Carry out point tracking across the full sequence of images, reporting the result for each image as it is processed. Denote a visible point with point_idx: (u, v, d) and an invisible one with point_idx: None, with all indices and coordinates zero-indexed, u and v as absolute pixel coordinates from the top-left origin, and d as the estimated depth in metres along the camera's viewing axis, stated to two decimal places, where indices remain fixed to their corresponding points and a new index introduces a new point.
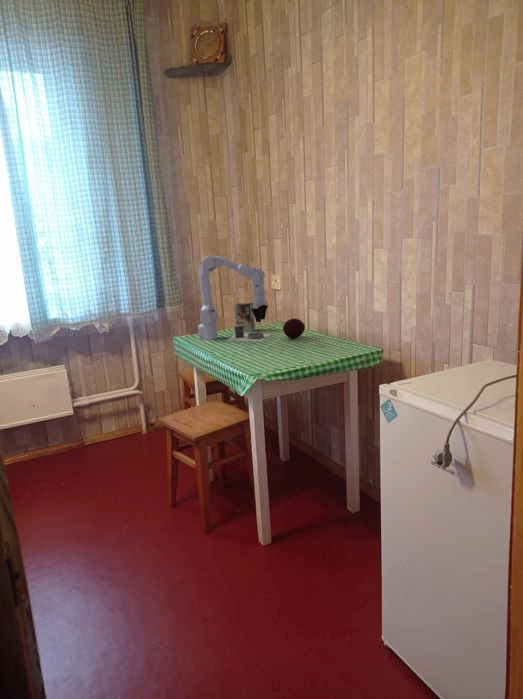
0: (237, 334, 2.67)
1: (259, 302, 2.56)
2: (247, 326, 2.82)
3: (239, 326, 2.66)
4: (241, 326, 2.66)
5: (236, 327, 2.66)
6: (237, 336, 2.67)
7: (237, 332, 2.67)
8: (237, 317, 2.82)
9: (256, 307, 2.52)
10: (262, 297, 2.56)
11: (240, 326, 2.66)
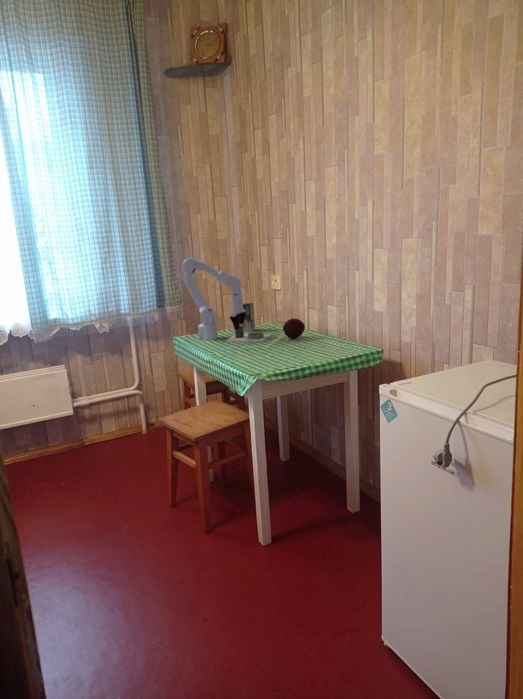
0: (237, 334, 2.67)
1: (237, 310, 2.63)
2: (247, 326, 2.82)
3: (239, 326, 2.66)
4: (241, 326, 2.66)
5: None
6: (237, 336, 2.67)
7: (237, 332, 2.67)
8: None
9: (234, 315, 2.60)
10: (240, 305, 2.63)
11: (240, 326, 2.66)
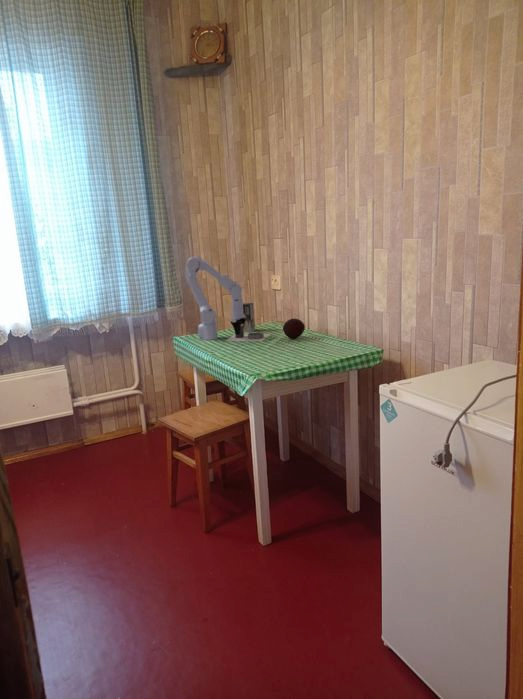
0: None
1: (237, 316, 2.64)
2: (247, 326, 2.82)
3: None
4: (241, 326, 2.66)
5: None
6: (237, 336, 2.67)
7: None
8: None
9: (234, 321, 2.60)
10: (240, 311, 2.64)
11: None
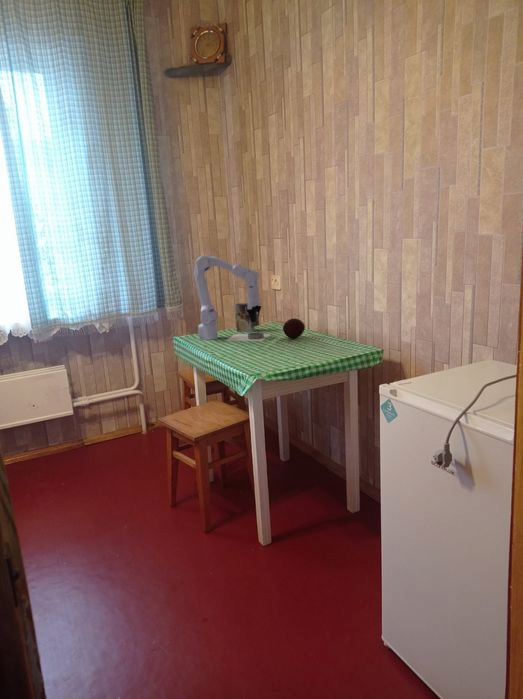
0: (252, 322, 2.61)
1: (253, 303, 2.58)
2: (247, 326, 2.82)
3: None
4: (256, 314, 2.60)
5: None
6: (252, 324, 2.61)
7: None
8: (237, 317, 2.82)
9: (250, 308, 2.54)
10: (256, 298, 2.58)
11: None
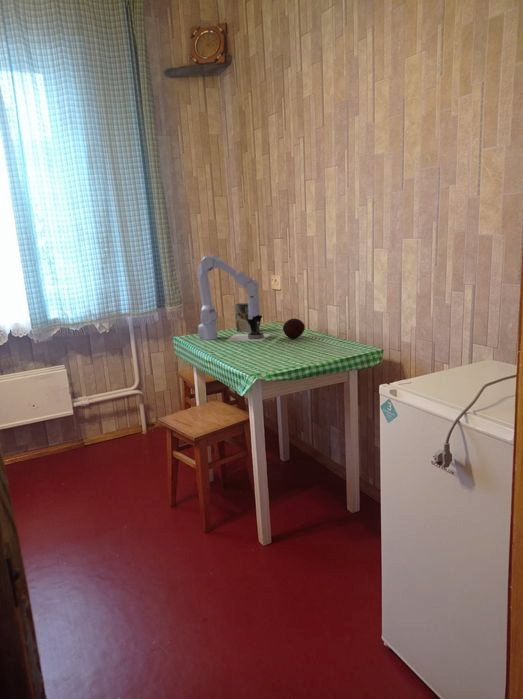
0: (253, 332, 2.62)
1: (254, 313, 2.59)
2: (247, 326, 2.82)
3: None
4: (257, 324, 2.62)
5: None
6: (253, 334, 2.62)
7: None
8: (237, 317, 2.82)
9: (251, 318, 2.55)
10: (257, 308, 2.59)
11: None
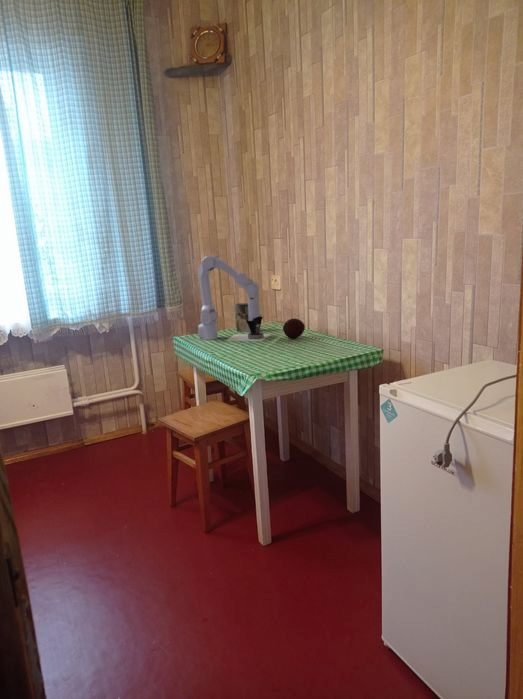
0: None
1: (254, 314, 2.59)
2: (247, 326, 2.82)
3: None
4: (257, 327, 2.62)
5: None
6: None
7: None
8: (237, 317, 2.82)
9: (251, 319, 2.56)
10: (257, 309, 2.59)
11: (256, 327, 2.61)
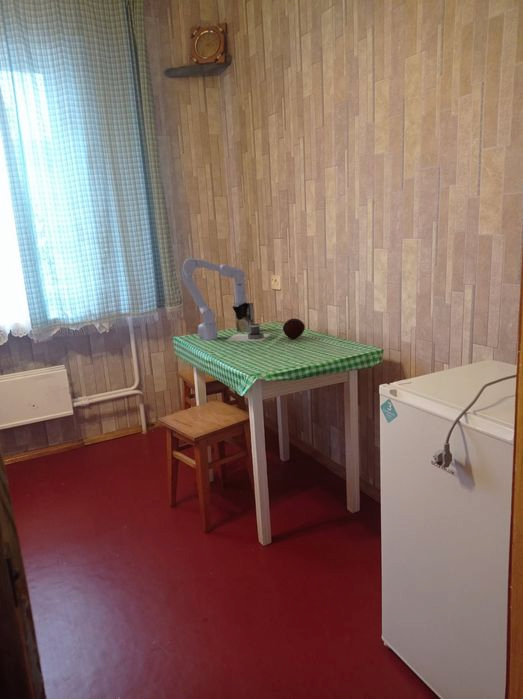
0: None
1: (240, 300, 2.65)
2: (247, 326, 2.82)
3: (255, 327, 2.61)
4: (257, 327, 2.62)
5: (252, 328, 2.62)
6: None
7: (253, 333, 2.62)
8: None
9: (237, 305, 2.61)
10: (243, 295, 2.65)
11: (256, 327, 2.61)
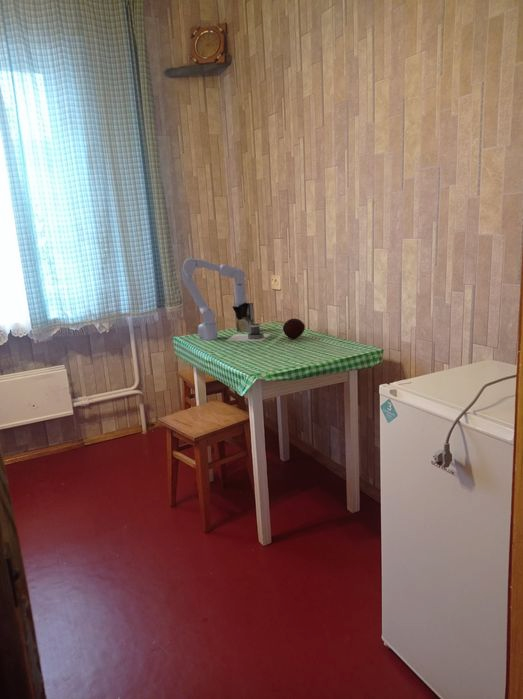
0: None
1: (240, 300, 2.65)
2: (247, 326, 2.82)
3: (255, 327, 2.61)
4: (257, 327, 2.62)
5: (252, 328, 2.62)
6: None
7: (253, 333, 2.62)
8: None
9: (237, 305, 2.61)
10: (243, 295, 2.65)
11: (256, 327, 2.61)
